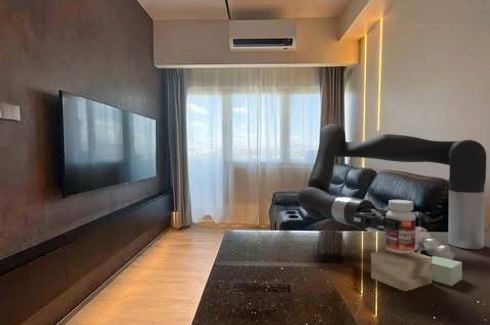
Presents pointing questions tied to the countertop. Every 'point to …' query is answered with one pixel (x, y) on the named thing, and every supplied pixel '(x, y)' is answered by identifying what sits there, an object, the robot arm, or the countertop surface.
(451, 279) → the sage block
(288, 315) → the countertop surface
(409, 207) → the pill bottle
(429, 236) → the figurine
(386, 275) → the oak block
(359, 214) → the robot arm
